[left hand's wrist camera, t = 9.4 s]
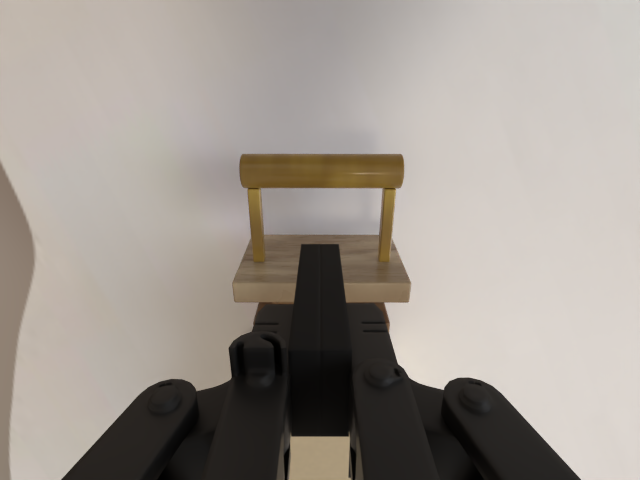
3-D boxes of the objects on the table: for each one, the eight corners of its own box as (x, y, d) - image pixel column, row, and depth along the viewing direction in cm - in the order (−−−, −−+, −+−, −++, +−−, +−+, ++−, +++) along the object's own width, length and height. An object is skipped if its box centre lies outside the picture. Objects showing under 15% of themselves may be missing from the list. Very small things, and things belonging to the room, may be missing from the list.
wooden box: (254, 337, 29) (232, 427, 21) (387, 337, 29) (409, 427, 21) (268, 488, 36) (255, 592, 29) (373, 488, 36) (386, 592, 29)
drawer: (244, 141, 22) (218, 165, 16) (398, 141, 22) (425, 166, 16) (267, 421, 31) (255, 497, 26) (374, 421, 31) (386, 497, 26)
